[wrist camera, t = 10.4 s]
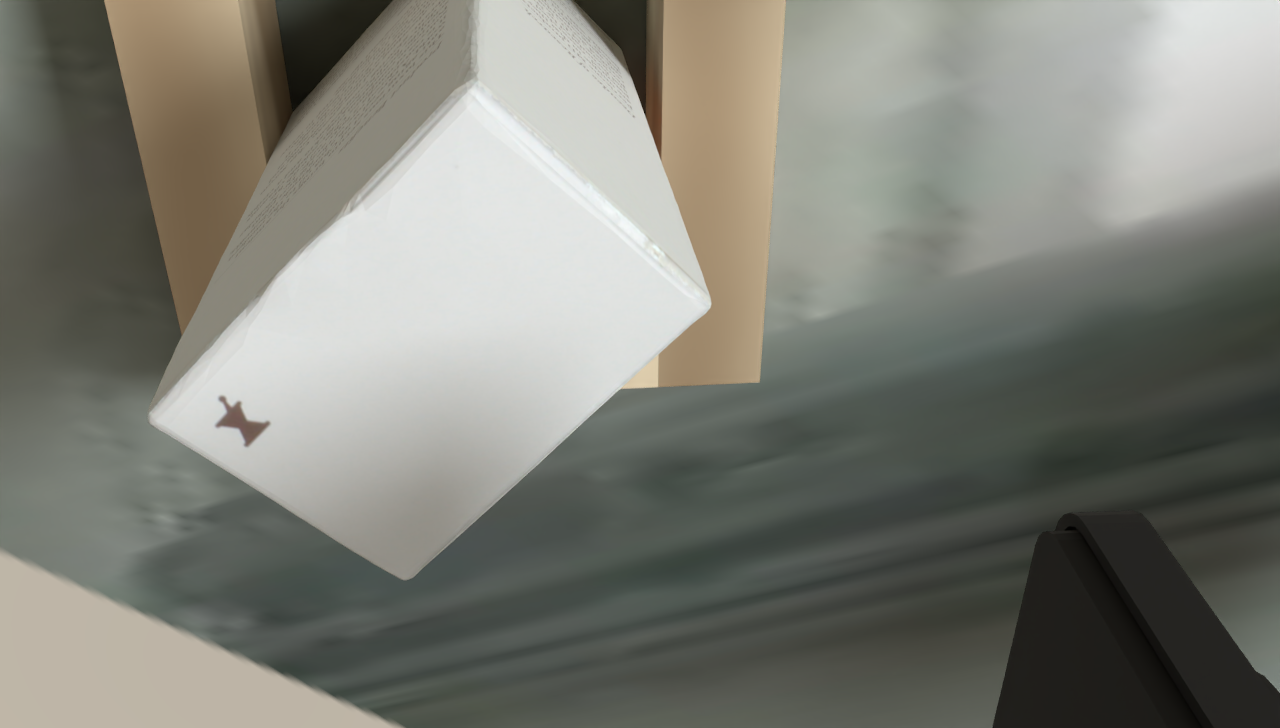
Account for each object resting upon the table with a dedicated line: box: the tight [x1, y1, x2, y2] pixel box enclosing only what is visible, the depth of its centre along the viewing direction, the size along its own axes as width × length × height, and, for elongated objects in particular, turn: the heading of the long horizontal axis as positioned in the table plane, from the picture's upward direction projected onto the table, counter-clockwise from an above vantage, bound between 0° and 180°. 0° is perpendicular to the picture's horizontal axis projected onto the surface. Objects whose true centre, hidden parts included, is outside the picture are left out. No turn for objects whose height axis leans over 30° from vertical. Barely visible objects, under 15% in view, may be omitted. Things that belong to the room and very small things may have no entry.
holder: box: [104, 0, 786, 389], centre depth 23 cm, size 12×12×3 cm
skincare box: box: [147, 0, 711, 580], centre depth 19 cm, size 6×4×12 cm
